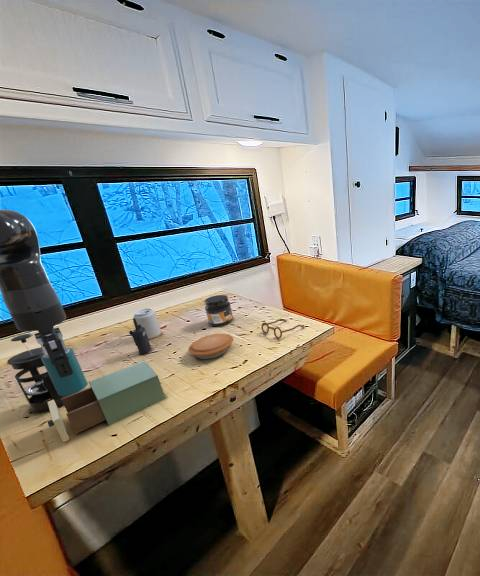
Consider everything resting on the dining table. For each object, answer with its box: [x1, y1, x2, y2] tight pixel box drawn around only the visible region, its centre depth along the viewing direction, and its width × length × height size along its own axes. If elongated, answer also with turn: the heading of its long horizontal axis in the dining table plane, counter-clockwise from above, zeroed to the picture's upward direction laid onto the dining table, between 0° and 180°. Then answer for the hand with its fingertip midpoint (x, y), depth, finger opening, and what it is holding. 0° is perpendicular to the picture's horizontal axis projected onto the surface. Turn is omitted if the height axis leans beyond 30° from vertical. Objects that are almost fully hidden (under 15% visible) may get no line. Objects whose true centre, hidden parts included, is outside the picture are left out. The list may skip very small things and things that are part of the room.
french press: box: [6, 333, 69, 414], centre depth 89 cm, size 12×9×23 cm
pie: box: [187, 333, 234, 360], centre depth 118 cm, size 16×16×5 cm
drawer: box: [47, 386, 106, 443], centre depth 84 cm, size 14×11×7 cm
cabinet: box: [88, 360, 166, 426], centre depth 91 cm, size 14×13×9 cm
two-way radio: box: [128, 318, 152, 355], centre depth 117 cm, size 6×4×15 cm
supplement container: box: [204, 294, 234, 327], centre depth 141 cm, size 10×10×12 cm
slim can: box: [41, 346, 89, 396], centre depth 72 cm, size 5×5×10 cm
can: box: [132, 308, 162, 340], centre depth 130 cm, size 8×8×12 cm
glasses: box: [261, 318, 305, 340], centre depth 133 cm, size 13×13×5 cm
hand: (64, 370), depth 72 cm, fingers closed on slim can, 5 cm apart
